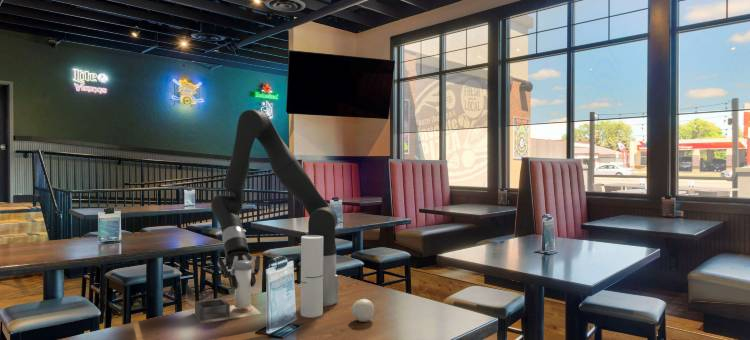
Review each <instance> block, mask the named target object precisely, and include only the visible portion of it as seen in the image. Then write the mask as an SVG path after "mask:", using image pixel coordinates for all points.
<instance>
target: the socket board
mask: <svg viewBox="0 0 750 340" xmlns="http://www.w3.org/2000/svg"><path fill="white" fill-rule="evenodd" d="M192 312H193V314H194V315H195V317H196V318H197V320H198V321H199V323H200V325H201V324H206V323H213V322H220V321H224V320H225V321H226V320H231V319H238V318H239V319H240V318H244V317H249V316H257V315H261V314H262V313H261V312H260V311H259V310H258V309H257V308H256V307H255V306H254V305H252V304H251V306H249V307H245V308H237V307H235V304H234V305H233V304H232V305H231V304H229V303H228V301H227V300H226V299H225V298H223V297H220V298H214V299H207V300H206V299H205V300H198V301H194V310H193V311H192Z"/></svg>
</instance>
